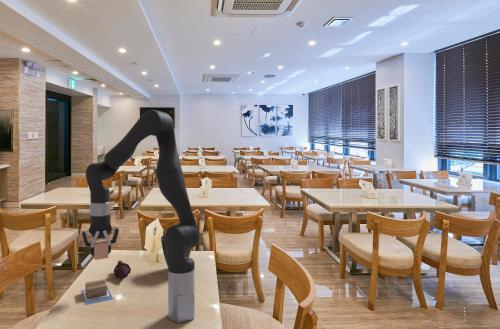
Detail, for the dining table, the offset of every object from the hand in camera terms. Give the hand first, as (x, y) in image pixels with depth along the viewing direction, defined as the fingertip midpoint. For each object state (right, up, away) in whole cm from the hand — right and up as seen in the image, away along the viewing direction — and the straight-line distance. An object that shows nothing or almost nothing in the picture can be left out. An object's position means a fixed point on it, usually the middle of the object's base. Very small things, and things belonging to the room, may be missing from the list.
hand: (100, 254), depth 143 cm
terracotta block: (0, -1, 0) cm, 1 cm away
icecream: (+2, -15, +18) cm, 23 cm away
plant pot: (+25, -14, +28) cm, 40 cm away
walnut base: (-2, -16, 0) cm, 16 cm away
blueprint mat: (-1, -16, -1) cm, 16 cm away
